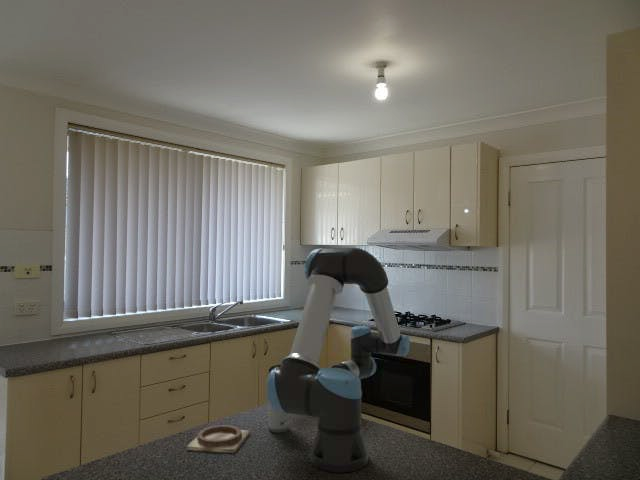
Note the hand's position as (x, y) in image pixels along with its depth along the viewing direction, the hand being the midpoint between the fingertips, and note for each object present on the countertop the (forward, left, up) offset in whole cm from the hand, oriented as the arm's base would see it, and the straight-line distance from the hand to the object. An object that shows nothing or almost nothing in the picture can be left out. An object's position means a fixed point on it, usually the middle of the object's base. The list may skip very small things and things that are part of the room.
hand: (301, 385), depth 155 cm
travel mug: (+6, +8, -12) cm, 15 cm away
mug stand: (+21, +20, -12) cm, 31 cm away
